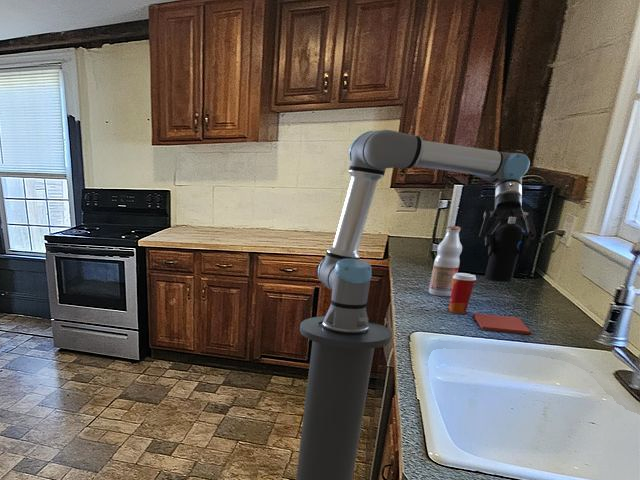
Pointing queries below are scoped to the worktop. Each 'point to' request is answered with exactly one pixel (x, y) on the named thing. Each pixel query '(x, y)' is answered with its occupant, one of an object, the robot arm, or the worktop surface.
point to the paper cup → (461, 292)
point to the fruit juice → (446, 263)
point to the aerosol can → (504, 252)
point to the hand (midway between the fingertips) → (506, 254)
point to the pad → (501, 323)
